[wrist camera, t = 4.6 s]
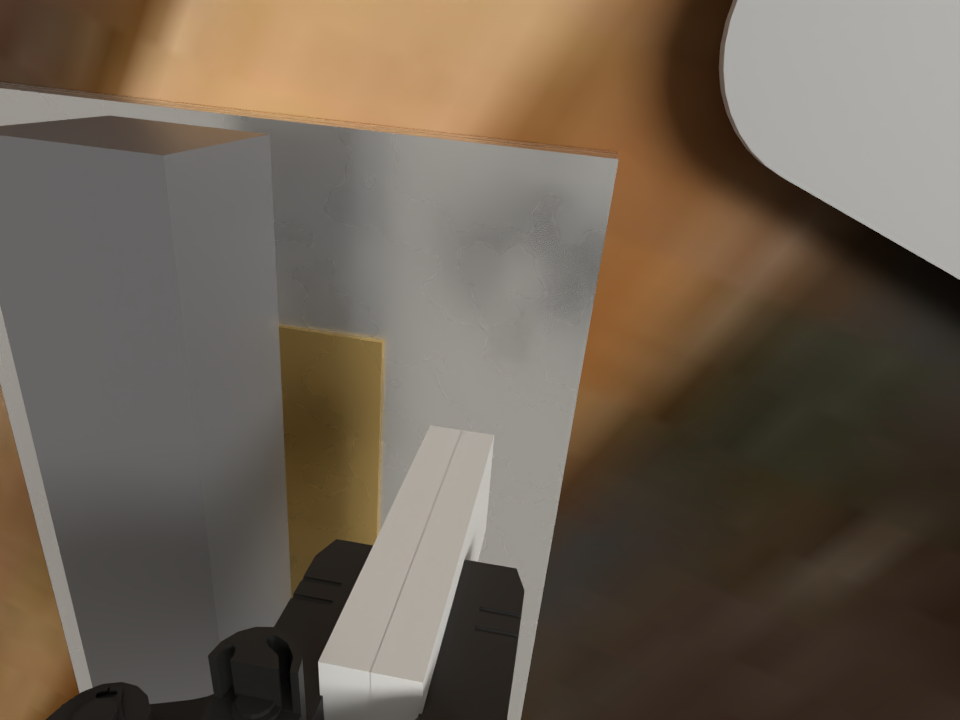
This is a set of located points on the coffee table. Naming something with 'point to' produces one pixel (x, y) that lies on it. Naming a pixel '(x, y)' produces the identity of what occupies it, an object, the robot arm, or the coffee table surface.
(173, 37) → the coffee table surface
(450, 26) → the coffee table surface
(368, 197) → the label board
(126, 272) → the swing bar
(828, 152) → the tablet
